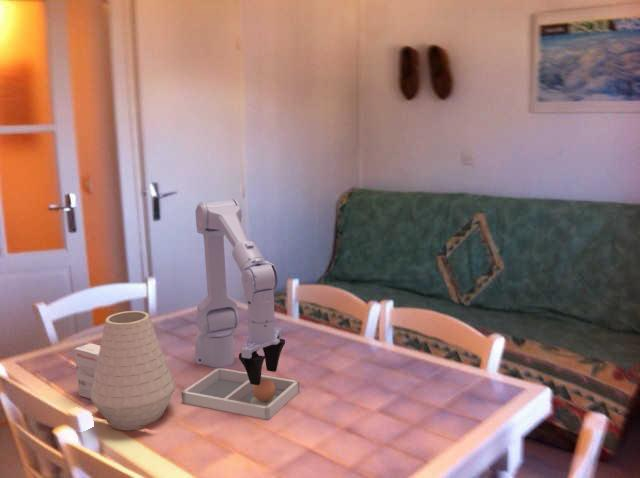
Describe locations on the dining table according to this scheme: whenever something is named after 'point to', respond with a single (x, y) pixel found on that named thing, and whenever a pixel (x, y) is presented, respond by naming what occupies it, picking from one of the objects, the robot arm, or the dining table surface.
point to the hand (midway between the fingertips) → (263, 377)
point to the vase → (131, 373)
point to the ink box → (86, 367)
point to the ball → (264, 390)
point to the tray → (237, 393)
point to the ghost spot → (266, 403)
